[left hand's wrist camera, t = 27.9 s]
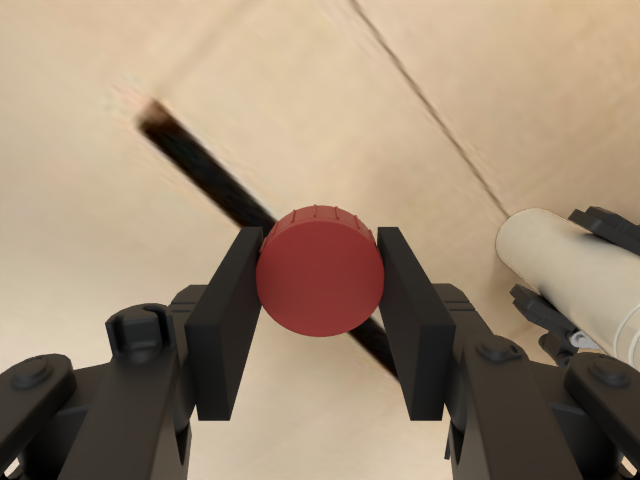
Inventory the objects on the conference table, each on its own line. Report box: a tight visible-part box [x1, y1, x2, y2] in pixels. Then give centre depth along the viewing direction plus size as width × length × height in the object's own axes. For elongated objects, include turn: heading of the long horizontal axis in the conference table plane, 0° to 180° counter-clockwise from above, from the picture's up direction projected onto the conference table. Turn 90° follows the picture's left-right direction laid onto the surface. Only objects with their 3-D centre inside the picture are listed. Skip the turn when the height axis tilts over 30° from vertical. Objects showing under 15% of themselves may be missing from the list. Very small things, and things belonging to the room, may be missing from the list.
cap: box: [256, 205, 385, 337], centre depth 14 cm, size 4×5×2 cm
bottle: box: [496, 208, 640, 372], centre depth 20 cm, size 5×5×18 cm
